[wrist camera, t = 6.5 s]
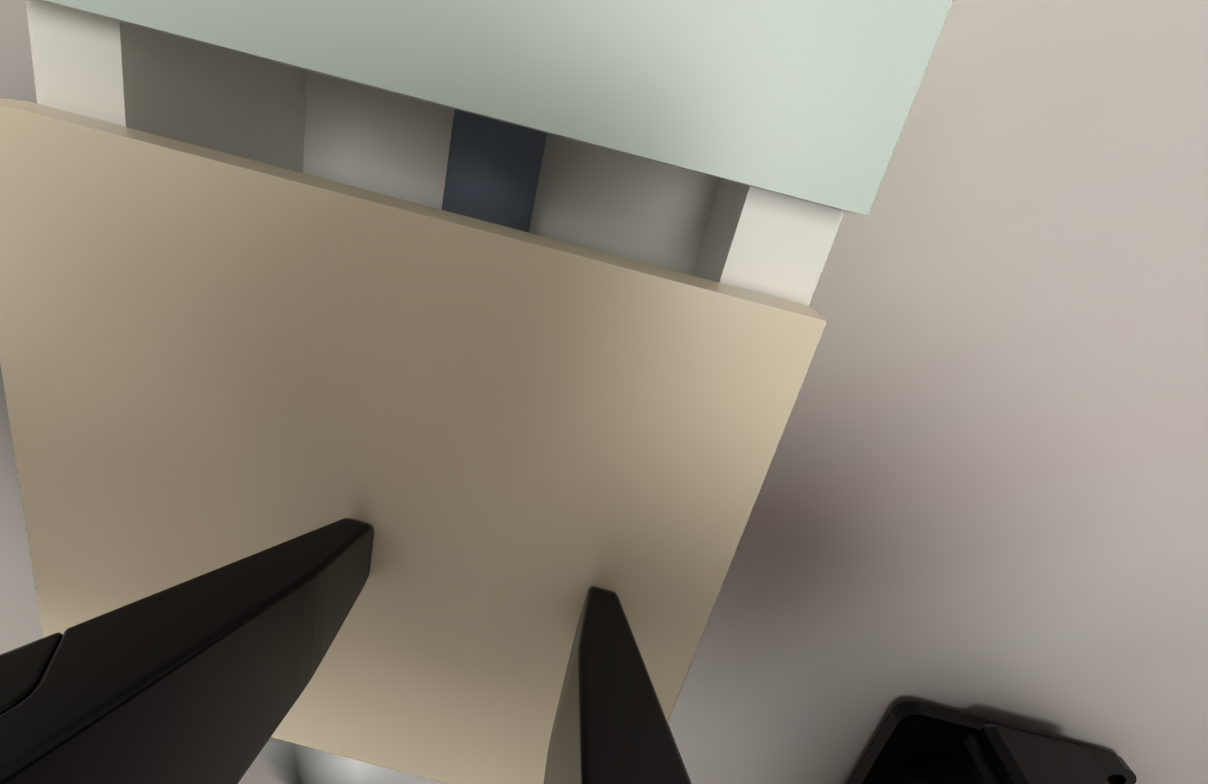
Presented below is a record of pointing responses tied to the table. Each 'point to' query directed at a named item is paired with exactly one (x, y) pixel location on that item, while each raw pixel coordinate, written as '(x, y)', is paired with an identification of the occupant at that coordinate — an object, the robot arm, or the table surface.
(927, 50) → the lid outer
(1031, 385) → the table surface
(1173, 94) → the table surface
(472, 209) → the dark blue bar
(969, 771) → the robot arm
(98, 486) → the lid inner
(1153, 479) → the table surface
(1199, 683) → the table surface
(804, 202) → the white tray
